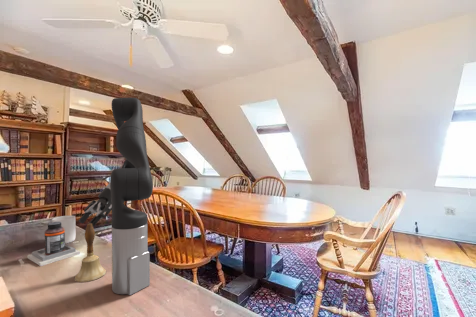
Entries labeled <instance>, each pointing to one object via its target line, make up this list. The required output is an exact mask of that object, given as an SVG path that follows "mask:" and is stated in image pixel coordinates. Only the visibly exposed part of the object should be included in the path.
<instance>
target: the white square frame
mask: <svg viewBox="0 0 476 317" xmlns="http://www.w3.org/2000/svg"><path fill="white" fill-rule="evenodd" d="M80 252H81V251H80V250H78V249H76V248H75V247H73V246H71V245H69V244H67V243H65V251H62V252H58V253H55V254H51V255H48V256H47V255H45V248H40V249H39V250H34V251H32V252H31V254H28V255H27V259H28V260H30V261H32V263H34V264H37V265H38V266H40V267H43V266H46V265H49V264H51V263H56V262H58V261H62V260H66V259H68V258H72V257H74V256H78V255H80Z"/></svg>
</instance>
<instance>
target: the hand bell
mask: <svg viewBox="0 0 476 317" xmlns="http://www.w3.org/2000/svg"><path fill="white" fill-rule="evenodd" d="M95 232H96V231H95V229H94V227H93V226H92V223H90V222H89V223H87V224H86V228H85V230H84V238H85V243H86V256H85V257H83V258H82V260H81V263H80V264H81V266H80V269H79V271H78V273H77V274H76V275H75V276H74V281H75V282H78V283H86V282H93V281H96V280H98V279H101V278H102V277H104V276H105V274H106V273H107V270H106V269H105V268H104V267H103V266H102V264H101V262H100V257H99V256H98V255H96V254H94V253H95V252H94V242H95V236H96V235H95Z"/></svg>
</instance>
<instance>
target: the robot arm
mask: <svg viewBox="0 0 476 317" xmlns="http://www.w3.org/2000/svg"><path fill="white" fill-rule="evenodd" d="M111 112H112V116H113V119H114V121H115V124H116V127H117V131H116V136H115V137H116V143H115V145H116V150H117V151H118V152H119V154H120V155H121V156H122V157H123V158H125V161H124V162H123V163H122V166H121V168H115V169H113V170H112V171H111V174H110V178H109V182H108V184H107V185H106V186H105V187H104V188H103V189H102V190H101V191H100V193H99V194H98V198H99V199H98V200H95V199H94V200H92V201H91V202H90V203H89V204H88V205H87V206H86V207H85V208H84V209H83V212H84V214H83V215H81V216H80V218H79V219H78V222H79V223H81V224H84V223H86V221H87V220H88V219H89V217H90V216H92V215H93V214H96V215H95V216H93V217H92V219H91V220H90V221H89V223H92V226H93V228H94V227H95V226H96V224H98V222H99V221H100V220H102V219H106V218H107V216H108V215H109V214H110V213H111V290H112V292H113V293H115V294H117V295H129V296H131V295H135V293H137V292H139V291H142V290H143V289H145V288H147V287H149V286H150V284H151V281H150V280H151V278H150V277H151V273H150V270H151V269H150V262H151V261H150V260H151V259H150V258H151V257H150V251H149V250H148V214H147V213H146V212H145V211H142V210H137V209H134V208H131V207H129V206H127V205H125V202H130V201H131V202H132V201H141V200H142V201H143V200H147V199H150V197H151V196H152V195H153V190H154V186H153V185H154V183H153V176H152V171H151V167H150V163H149V158H148V151H147V150H148V148H147V139H146V132H145V128H144V121H143V119H144V116H143V115H144V114H143V104H142V103H141V100H140V99H138V98H137V97H116V98H112V101H111Z"/></svg>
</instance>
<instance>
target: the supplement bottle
mask: <svg viewBox="0 0 476 317" xmlns="http://www.w3.org/2000/svg"><path fill="white" fill-rule="evenodd" d="M65 244H66V243H65V229H64V228H63V227H62V226H61V222H52V221H51V222H49V223H48V224H47V228H46V230H45V231H44V249H45V255H47V256H48V255H51V254H55V253H58V252H62V251H65Z"/></svg>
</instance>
